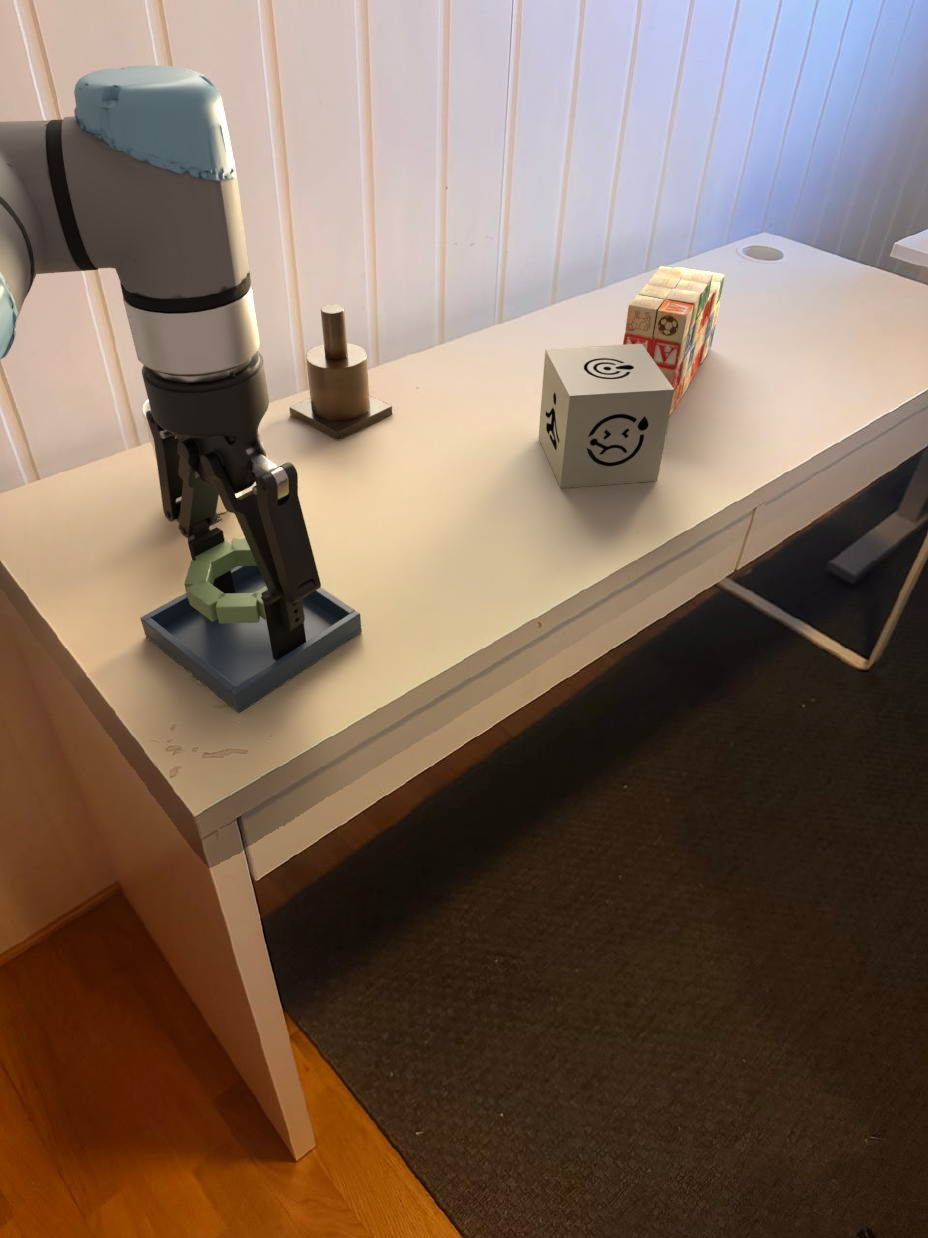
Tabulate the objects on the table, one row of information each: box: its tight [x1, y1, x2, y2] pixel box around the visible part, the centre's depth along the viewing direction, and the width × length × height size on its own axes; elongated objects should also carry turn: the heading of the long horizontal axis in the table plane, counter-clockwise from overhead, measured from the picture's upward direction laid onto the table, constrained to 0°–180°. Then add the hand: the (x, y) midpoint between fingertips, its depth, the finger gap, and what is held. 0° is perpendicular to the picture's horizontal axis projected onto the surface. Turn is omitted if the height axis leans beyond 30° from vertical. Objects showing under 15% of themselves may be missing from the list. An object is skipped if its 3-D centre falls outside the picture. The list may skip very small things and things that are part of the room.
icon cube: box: [538, 344, 674, 489], centre depth 90 cm, size 10×10×10 cm
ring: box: [183, 538, 268, 624], centre depth 68 cm, size 8×8×2 cm
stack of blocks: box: [622, 265, 726, 417], centre depth 103 cm, size 21×6×12 cm, turn 155°
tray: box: [140, 566, 363, 714], centre depth 71 cm, size 12×12×2 cm
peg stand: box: [289, 303, 393, 441], centre depth 95 cm, size 8×8×12 cm
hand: (253, 625), depth 71 cm, fingers closed on ring, 8 cm apart
